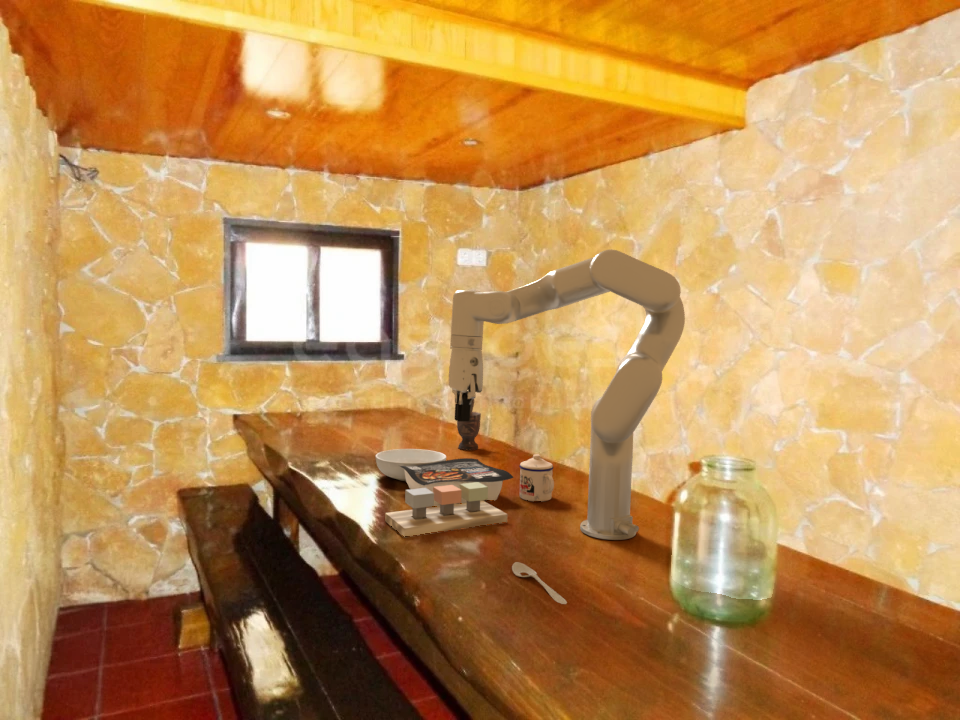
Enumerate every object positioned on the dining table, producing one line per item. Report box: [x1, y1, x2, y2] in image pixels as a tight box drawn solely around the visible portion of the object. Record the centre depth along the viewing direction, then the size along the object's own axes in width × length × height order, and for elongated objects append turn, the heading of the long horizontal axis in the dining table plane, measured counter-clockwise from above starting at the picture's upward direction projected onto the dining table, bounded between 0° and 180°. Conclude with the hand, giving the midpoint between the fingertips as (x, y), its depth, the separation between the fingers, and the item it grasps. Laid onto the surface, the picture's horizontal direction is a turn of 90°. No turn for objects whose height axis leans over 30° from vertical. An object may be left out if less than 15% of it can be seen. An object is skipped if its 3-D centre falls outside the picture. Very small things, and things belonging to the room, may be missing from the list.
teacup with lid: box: [519, 453, 555, 502], centre depth 175 cm, size 12×9×12 cm
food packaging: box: [400, 457, 515, 506], centre depth 177 cm, size 25×8×23 cm
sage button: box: [460, 482, 488, 511], centre depth 157 cm, size 5×5×6 cm
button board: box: [384, 500, 508, 538], centre depth 154 cm, size 12×26×2 cm, turn 118°
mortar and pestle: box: [456, 399, 482, 451], centre depth 237 cm, size 12×9×20 cm
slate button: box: [404, 488, 434, 518], centre depth 150 cm, size 5×5×6 cm
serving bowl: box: [375, 448, 447, 482], centre depth 194 cm, size 21×21×7 cm
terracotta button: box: [433, 485, 462, 515], centre depth 154 cm, size 5×5×6 cm
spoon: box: [511, 561, 568, 605], centre depth 118 cm, size 4×21×2 cm, turn 26°
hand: (461, 420), depth 155 cm, fingers closed
